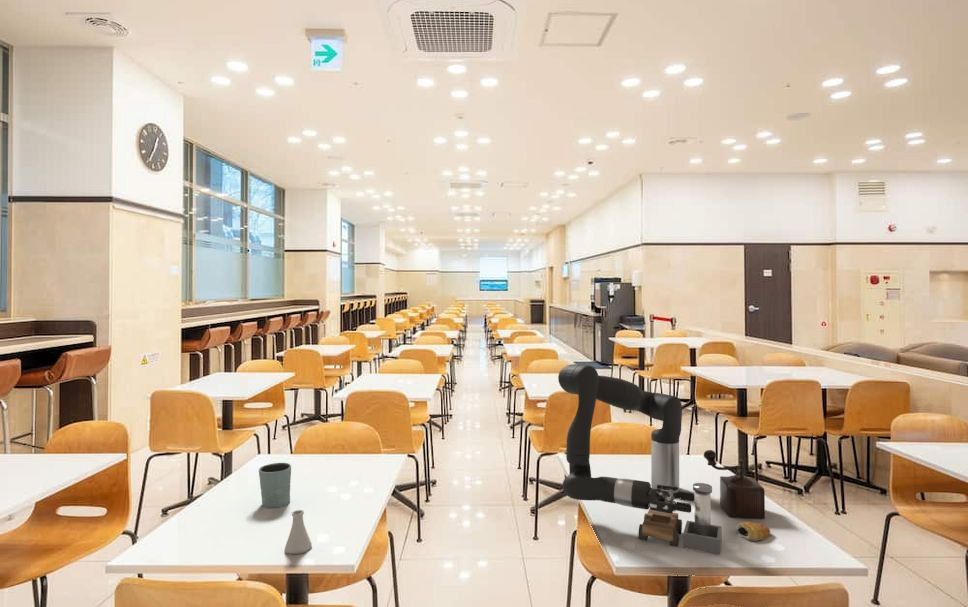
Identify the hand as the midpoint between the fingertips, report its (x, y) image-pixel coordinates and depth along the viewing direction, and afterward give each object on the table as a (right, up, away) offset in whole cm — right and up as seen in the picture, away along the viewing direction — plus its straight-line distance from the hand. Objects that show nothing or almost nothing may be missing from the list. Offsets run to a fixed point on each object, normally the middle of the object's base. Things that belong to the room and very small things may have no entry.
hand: (692, 502), depth 145 cm
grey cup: (-126, -12, +30) cm, 130 cm away
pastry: (+18, -11, +4) cm, 22 cm away
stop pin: (+2, -10, -1) cm, 10 cm away
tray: (+2, -11, -1) cm, 11 cm away
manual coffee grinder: (+21, -11, +21) cm, 32 cm away
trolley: (-7, -11, +5) cm, 14 cm away
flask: (-108, -12, -2) cm, 108 cm away
